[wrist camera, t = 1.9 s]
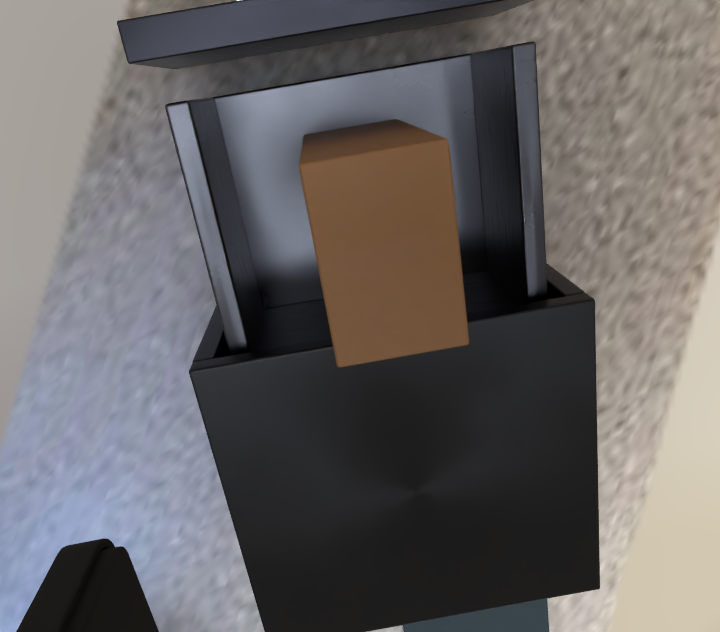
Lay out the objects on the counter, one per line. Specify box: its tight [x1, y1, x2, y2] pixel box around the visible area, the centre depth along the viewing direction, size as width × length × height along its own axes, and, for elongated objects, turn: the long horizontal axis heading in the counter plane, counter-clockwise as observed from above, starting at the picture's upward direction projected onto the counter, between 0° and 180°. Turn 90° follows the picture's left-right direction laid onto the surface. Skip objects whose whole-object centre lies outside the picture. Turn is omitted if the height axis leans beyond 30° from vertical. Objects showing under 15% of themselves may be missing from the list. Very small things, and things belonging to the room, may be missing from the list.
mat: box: [403, 599, 549, 632], centre depth 38 cm, size 9×7×1 cm
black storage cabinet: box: [189, 263, 600, 632], centre depth 28 cm, size 14×15×9 cm
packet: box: [299, 119, 469, 367], centre depth 22 cm, size 4×6×10 cm, turn 9°
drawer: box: [117, 0, 548, 356], centre depth 23 cm, size 17×13×7 cm
